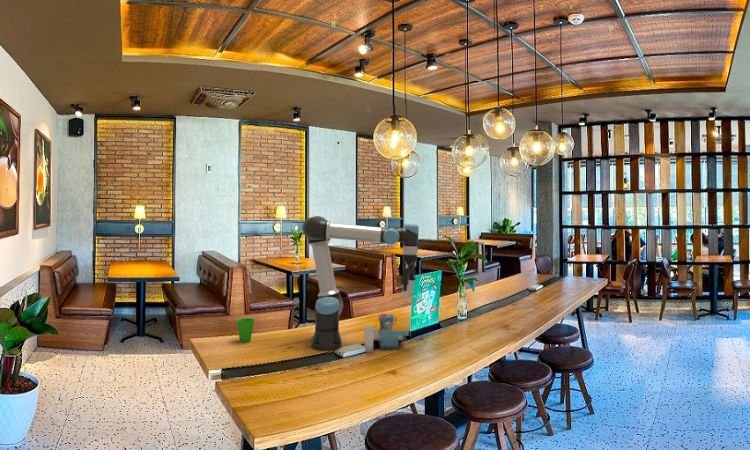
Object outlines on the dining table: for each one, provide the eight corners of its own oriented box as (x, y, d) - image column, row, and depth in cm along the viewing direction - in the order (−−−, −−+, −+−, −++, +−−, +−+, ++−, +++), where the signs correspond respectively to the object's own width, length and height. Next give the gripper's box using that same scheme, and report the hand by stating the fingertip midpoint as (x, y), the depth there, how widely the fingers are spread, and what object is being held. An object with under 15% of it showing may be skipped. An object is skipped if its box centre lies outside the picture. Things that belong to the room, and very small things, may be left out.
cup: (258, 341, 239) (258, 320, 238) (242, 345, 232) (242, 323, 232) (248, 337, 245) (248, 316, 245) (232, 341, 238) (232, 319, 238)
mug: (385, 338, 251) (385, 318, 251) (373, 334, 258) (374, 315, 258) (401, 334, 259) (402, 315, 259) (390, 330, 266) (390, 312, 266)
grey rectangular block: (364, 352, 227) (365, 327, 227) (364, 349, 231) (364, 325, 231) (373, 352, 228) (373, 327, 227) (372, 349, 232) (373, 325, 231)
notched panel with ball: (375, 349, 232) (376, 327, 231) (372, 339, 248) (373, 319, 248) (408, 349, 233) (408, 327, 232) (403, 339, 249) (404, 319, 249)
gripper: (412, 257, 231) (409, 299, 232) (421, 252, 255) (419, 291, 256) (397, 255, 234) (395, 298, 235) (408, 251, 257) (406, 290, 258)
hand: (407, 294), depth 245 cm, fingers open, 13 cm apart
